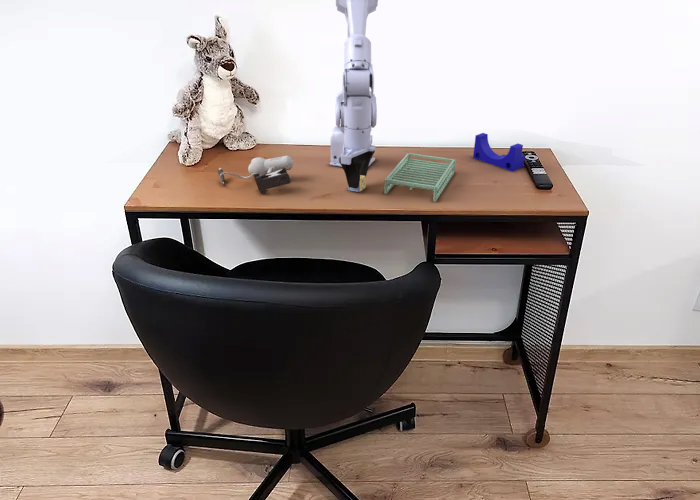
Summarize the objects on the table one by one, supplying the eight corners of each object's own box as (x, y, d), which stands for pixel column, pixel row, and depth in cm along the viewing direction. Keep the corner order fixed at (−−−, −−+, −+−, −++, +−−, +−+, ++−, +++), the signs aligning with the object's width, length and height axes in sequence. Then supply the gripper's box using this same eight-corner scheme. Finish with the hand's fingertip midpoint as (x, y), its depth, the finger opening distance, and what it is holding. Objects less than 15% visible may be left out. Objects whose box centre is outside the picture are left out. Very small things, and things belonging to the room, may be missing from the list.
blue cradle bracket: (523, 166, 157) (526, 143, 154) (512, 171, 154) (515, 147, 151) (484, 153, 164) (486, 131, 161) (473, 157, 162) (475, 135, 159)
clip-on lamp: (216, 204, 143) (292, 190, 141) (206, 180, 140) (284, 165, 137) (226, 179, 153) (297, 166, 150) (217, 156, 149) (290, 142, 147)
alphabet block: (347, 190, 143) (347, 177, 142) (354, 185, 146) (354, 173, 144) (359, 193, 142) (359, 180, 141) (365, 188, 145) (366, 175, 143)
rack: (435, 202, 138) (437, 187, 136) (383, 193, 142) (384, 179, 140) (454, 172, 153) (455, 159, 151) (406, 166, 157) (407, 152, 155)
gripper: (363, 138, 129) (362, 198, 136) (385, 118, 141) (383, 174, 148) (331, 133, 132) (332, 193, 138) (356, 114, 144) (355, 170, 150)
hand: (356, 183), depth 143 cm, fingers open, 4 cm apart
